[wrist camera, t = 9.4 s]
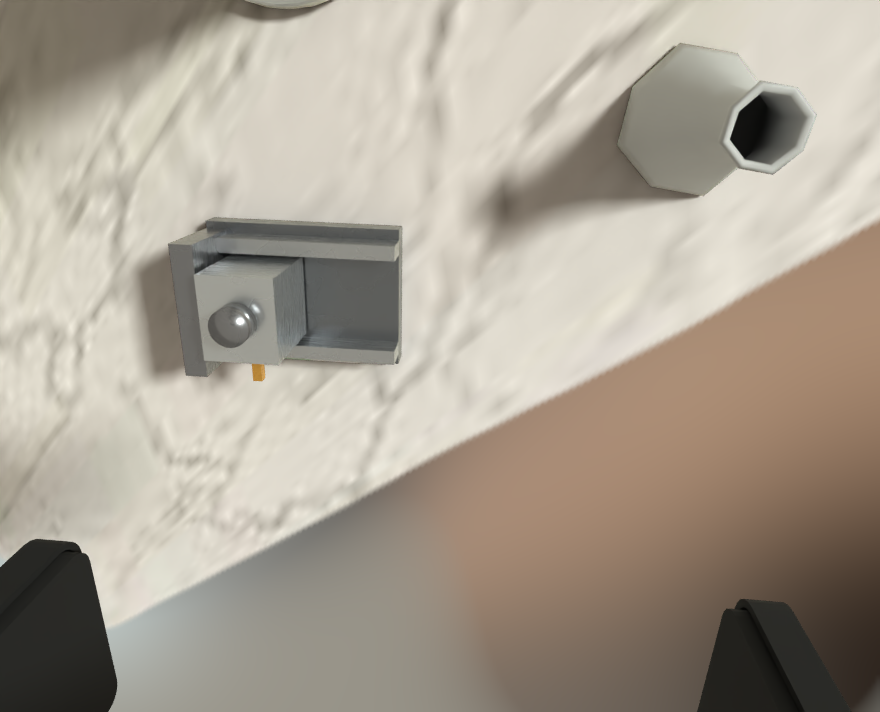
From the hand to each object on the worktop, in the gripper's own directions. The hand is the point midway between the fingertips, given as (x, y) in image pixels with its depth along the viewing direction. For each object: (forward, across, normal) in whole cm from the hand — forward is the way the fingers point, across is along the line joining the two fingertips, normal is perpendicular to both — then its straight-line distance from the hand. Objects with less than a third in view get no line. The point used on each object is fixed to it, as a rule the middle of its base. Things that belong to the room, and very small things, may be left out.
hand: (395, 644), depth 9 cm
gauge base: (+28, +10, +3) cm, 30 cm away
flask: (+29, -11, -7) cm, 31 cm away
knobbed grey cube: (+27, +11, +4) cm, 30 cm away
